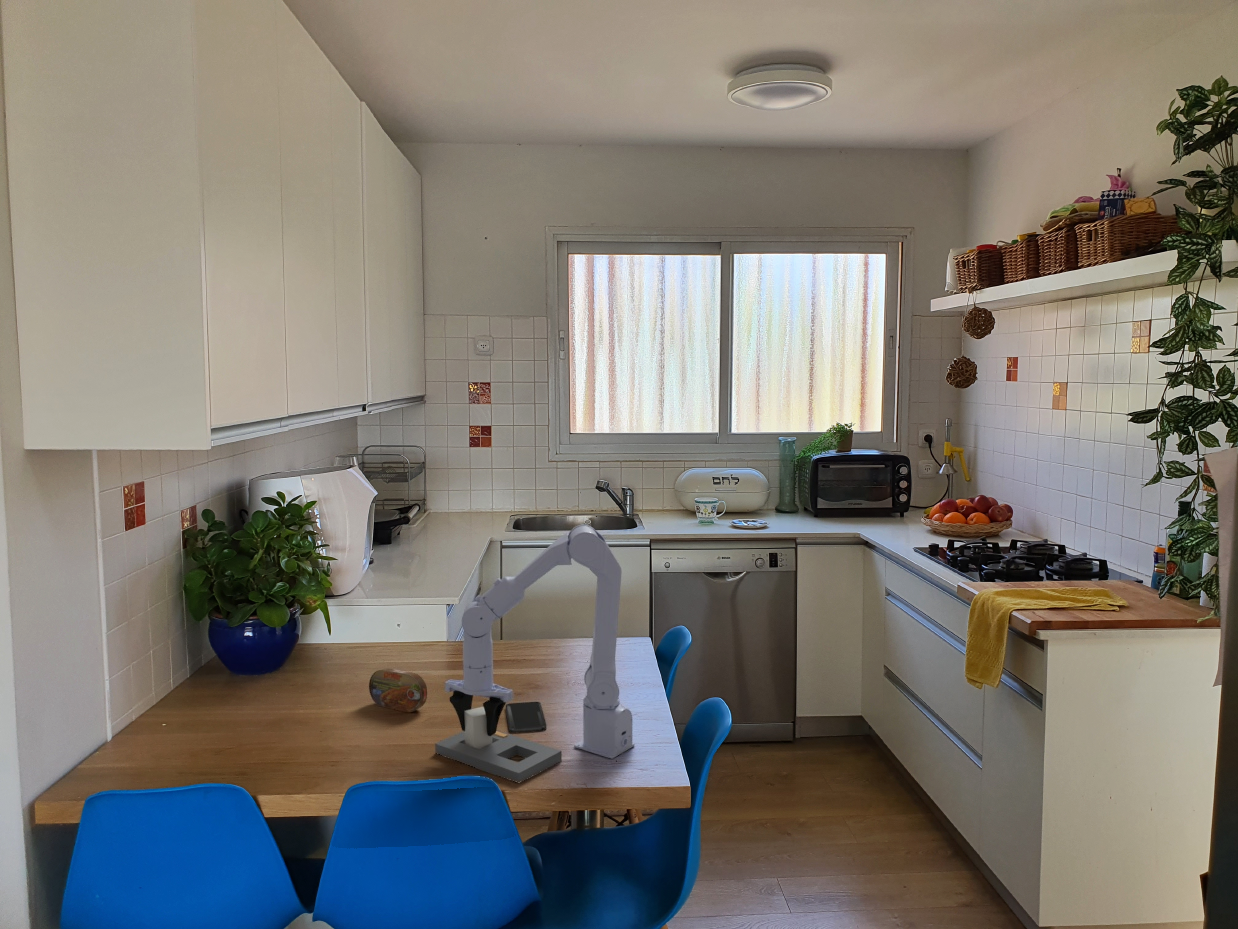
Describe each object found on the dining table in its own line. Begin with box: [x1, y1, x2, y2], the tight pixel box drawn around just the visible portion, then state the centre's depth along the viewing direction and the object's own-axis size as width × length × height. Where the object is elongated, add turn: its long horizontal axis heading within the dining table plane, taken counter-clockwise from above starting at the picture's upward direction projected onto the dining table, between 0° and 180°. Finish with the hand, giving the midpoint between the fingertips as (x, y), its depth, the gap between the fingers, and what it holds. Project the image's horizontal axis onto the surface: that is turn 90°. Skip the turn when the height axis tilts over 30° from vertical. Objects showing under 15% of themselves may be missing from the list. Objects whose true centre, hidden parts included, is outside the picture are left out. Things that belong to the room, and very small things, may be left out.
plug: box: [464, 706, 492, 749], centre depth 174 cm, size 4×4×7 cm
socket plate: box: [434, 729, 563, 782], centre depth 171 cm, size 22×12×2 cm, turn 54°
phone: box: [505, 701, 547, 734], centre depth 191 cm, size 8×1×15 cm
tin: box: [368, 668, 428, 713], centre depth 197 cm, size 15×3×8 cm, turn 62°
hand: (479, 731), depth 174 cm, fingers closed on plug, 5 cm apart
